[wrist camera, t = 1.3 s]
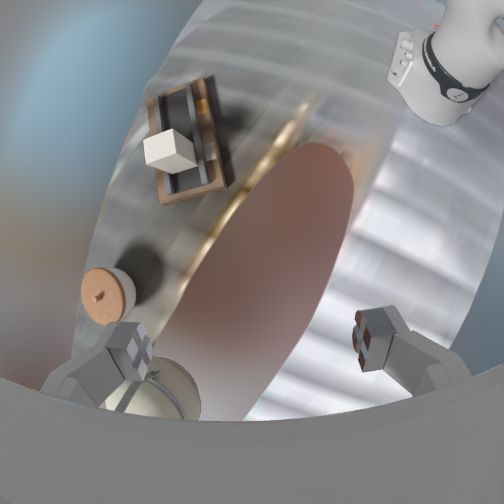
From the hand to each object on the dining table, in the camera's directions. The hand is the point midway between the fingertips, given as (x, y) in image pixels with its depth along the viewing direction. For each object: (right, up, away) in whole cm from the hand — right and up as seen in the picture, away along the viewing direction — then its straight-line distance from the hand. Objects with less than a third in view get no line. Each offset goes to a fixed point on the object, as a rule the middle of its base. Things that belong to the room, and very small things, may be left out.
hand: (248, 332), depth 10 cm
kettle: (-18, -27, +43) cm, 54 cm away
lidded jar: (-26, -5, +43) cm, 50 cm away
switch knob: (-12, +19, +36) cm, 42 cm away
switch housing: (-12, +23, +38) cm, 46 cm away
